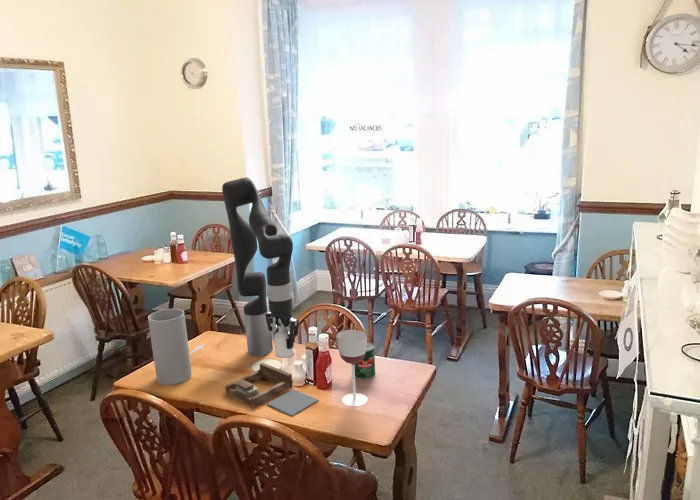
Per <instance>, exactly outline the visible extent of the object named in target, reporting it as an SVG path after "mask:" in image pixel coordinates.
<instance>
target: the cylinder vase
mask: <svg viewBox="0 0 700 500" xmlns="http://www.w3.org/2000/svg"><path fill="white" fill-rule="evenodd" d="M185 316H186V314H185V311H184V310H182V309H180V308H165V309H161V310H156V311H154V312H152V313H150V314H149V315H148V316H147V319H148V320H147V321H148V322H147V323H148V328H149V334H150V342H151V348H152V357H153V365H154V370H155V377H156V381H157V383H159V384H160V385H162V386H175V385H179V384H182V383H185V382H186V381H188V380H190V378H191V377H192V374H193V372H192V363H191V357H190V355H191V354H190V355H189V353H190V349H189V340H188V334H187V333H188V331H187V324H186V317H185Z"/></svg>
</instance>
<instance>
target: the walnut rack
mask: <svg viewBox="0 0 700 500" xmlns="http://www.w3.org/2000/svg"><path fill="white" fill-rule="evenodd" d="M261 379H265V380H268V381H270V382H273V383H275V385H273V386H271V387H269V388H267V389H265V390H264V391H261V392H259V394H257V395H255V396H253V397H249V396H247V395H244V394H242V393H240V392H238V391H236V390H234V389H236V386H235V383H236V382H238V381H240V380H244V381H247V382H249V383H251V384H254V383H256V382H258V381H259V380H261ZM224 387H225V388H224V389H225V394H226V395H228V396H231V397H233V398H235V399H236V400H238V401H241V402H243V403H245V404H247V405H249V406H251V407H253V408H256V407H258V406H260V405H262V404H264V403H266V402H267V401H269V400H271V399H273V398H275V397H277V396H279V395H281V394H282V393H285V392H286V391H288V390H290V389H291V388H293V374H292V373H290V372H287V371H285V370H282V369H280V368H277V367H275V366H272V365H269V364H267V363H264V362H261V363H259V369H258V370H255V371H253V372H251V373H249V374H246V375H244V376H243V377H240V378H239V379H236V380H235V381H231V382H230V383H228V384H225V386H224Z"/></svg>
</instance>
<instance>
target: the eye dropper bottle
mask: <svg viewBox="0 0 700 500" xmlns="http://www.w3.org/2000/svg"><path fill="white" fill-rule="evenodd" d="M278 328H279V332H277V333H275V335H274V336H273V342H275V343H274V351H275V352H274V353H275V357H276V358H279V359H281V358H282V359H285V358H291V357H293V356H294V347H293V348H291V349H287V345H286V335H285V333H284V332H283V331H282V328H281V326H278ZM285 328H286V329H287V327H285ZM288 334H290V332H289V331H288Z"/></svg>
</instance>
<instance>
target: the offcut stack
mask: <svg viewBox="0 0 700 500" xmlns="http://www.w3.org/2000/svg"><path fill="white" fill-rule="evenodd" d="M235 386H236V389H234V390H236V391H238V392H240V393H242V394H244V395H247V396H249V397H253V396H255V395H257V394H259V393H260V391H259V387H256V386H254V383H249V382H247V381H244V380H240V381H238V382H236V383H235Z"/></svg>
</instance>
